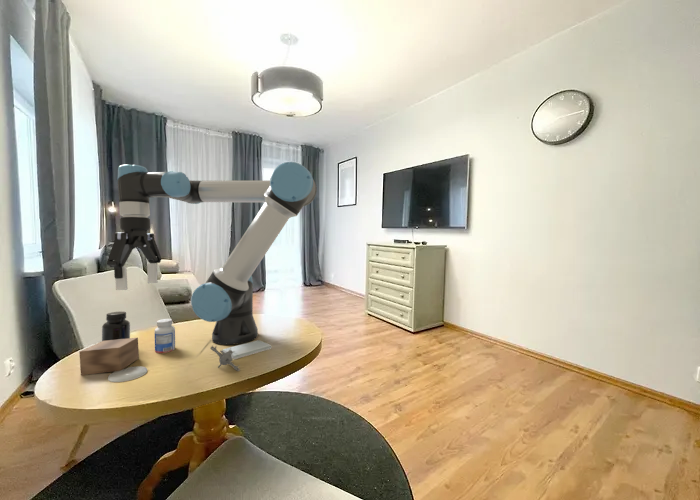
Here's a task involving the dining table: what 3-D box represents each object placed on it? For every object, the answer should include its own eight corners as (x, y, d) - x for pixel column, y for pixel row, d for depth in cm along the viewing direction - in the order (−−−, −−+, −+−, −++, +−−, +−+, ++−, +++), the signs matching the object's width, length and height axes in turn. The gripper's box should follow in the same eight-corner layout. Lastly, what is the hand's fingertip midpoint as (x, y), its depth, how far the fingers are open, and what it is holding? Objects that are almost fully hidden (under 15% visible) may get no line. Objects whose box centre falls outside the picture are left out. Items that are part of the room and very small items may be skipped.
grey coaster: (154, 369, 79) (154, 366, 79) (132, 383, 71) (132, 380, 71) (124, 369, 79) (124, 366, 79) (99, 383, 71) (99, 380, 71)
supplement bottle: (114, 356, 87) (114, 316, 87) (96, 354, 89) (95, 315, 88) (135, 348, 94) (135, 311, 94) (118, 346, 95) (117, 309, 95)
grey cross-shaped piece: (248, 360, 86) (246, 361, 78) (233, 378, 83) (229, 381, 75) (222, 338, 86) (217, 337, 78) (206, 356, 84) (199, 356, 75)
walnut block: (138, 358, 85) (137, 337, 85) (120, 370, 76) (119, 347, 76) (103, 362, 83) (102, 340, 83) (80, 375, 75) (79, 351, 74)
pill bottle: (161, 348, 95) (161, 317, 94) (178, 348, 95) (178, 317, 95) (150, 354, 89) (150, 322, 89) (168, 354, 89) (168, 322, 89)
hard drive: (258, 339, 101) (221, 348, 92) (271, 345, 95) (234, 355, 86) (258, 344, 101) (221, 353, 92) (271, 350, 95) (234, 361, 86)
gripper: (149, 220, 103) (152, 280, 104) (87, 213, 78) (91, 293, 79) (171, 219, 103) (174, 280, 104) (116, 213, 78) (119, 292, 79)
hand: (138, 286), depth 91 cm, fingers open, 13 cm apart
